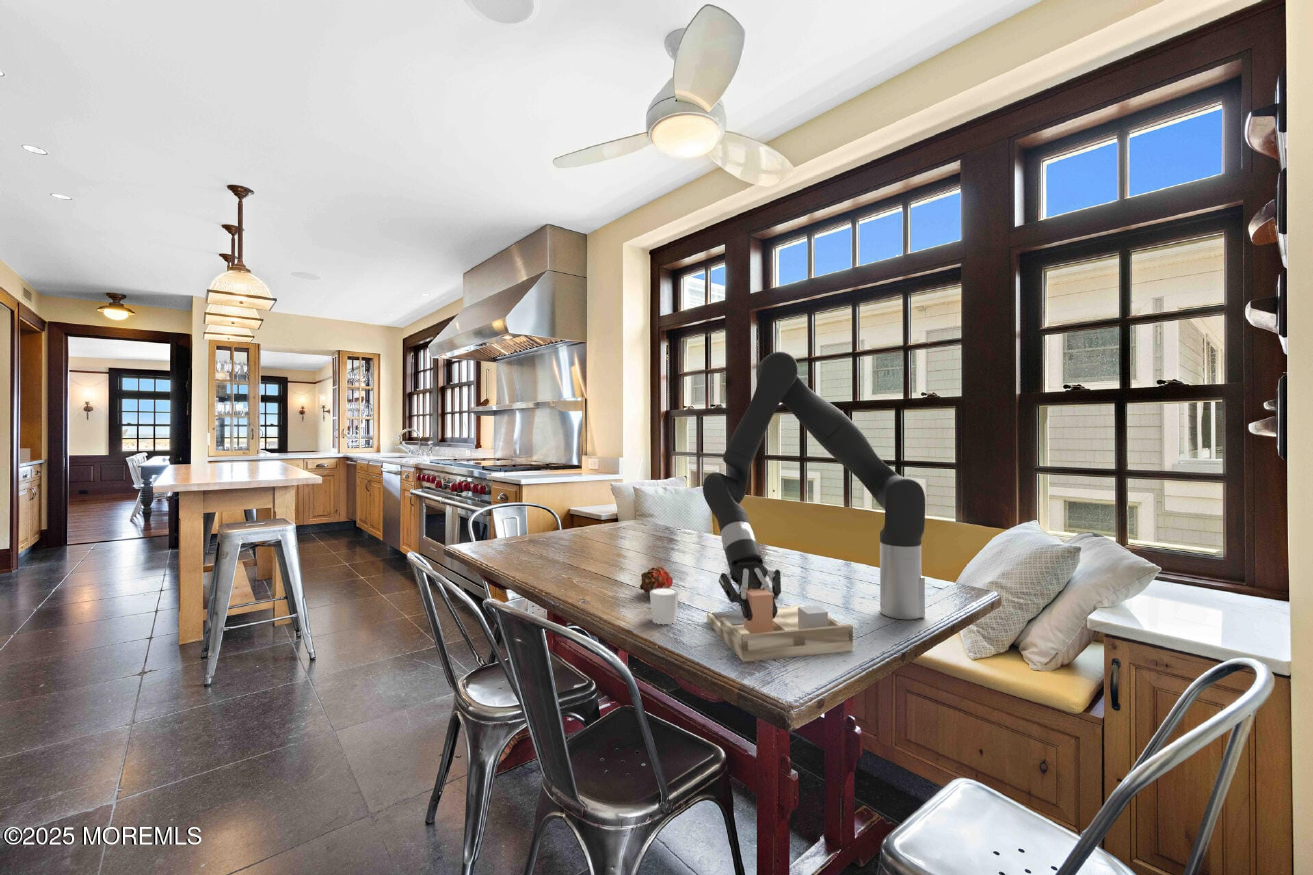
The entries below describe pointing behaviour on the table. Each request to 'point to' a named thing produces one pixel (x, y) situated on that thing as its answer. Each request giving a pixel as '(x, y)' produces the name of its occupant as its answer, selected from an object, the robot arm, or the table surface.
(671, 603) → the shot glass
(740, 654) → the wooden divided tray
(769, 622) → the terracotta block
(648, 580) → the dragon fruit
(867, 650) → the table surface
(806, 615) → the grey block
